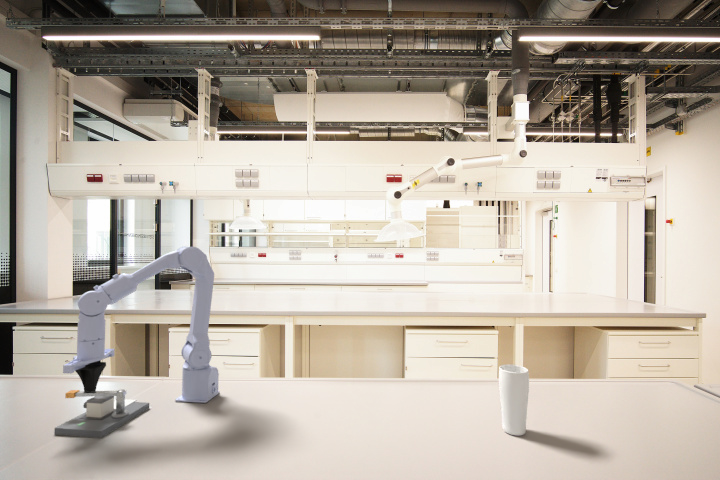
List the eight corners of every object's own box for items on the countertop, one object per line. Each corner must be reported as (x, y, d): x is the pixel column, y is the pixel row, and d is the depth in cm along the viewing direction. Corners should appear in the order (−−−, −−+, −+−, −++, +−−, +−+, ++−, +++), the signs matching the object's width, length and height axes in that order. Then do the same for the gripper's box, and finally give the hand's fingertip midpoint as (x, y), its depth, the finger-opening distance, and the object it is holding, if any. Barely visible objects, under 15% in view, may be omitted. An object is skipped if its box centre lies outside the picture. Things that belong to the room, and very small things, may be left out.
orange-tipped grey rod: (126, 410, 94) (127, 389, 94) (122, 414, 92) (122, 392, 92) (70, 411, 93) (71, 390, 93) (64, 415, 91) (65, 393, 91)
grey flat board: (151, 406, 101) (151, 399, 101) (101, 437, 85) (101, 428, 85) (111, 404, 103) (111, 396, 103) (54, 434, 86) (54, 425, 86)
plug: (113, 410, 95) (114, 394, 95) (101, 417, 91) (101, 401, 91) (92, 409, 96) (92, 393, 96) (79, 416, 92) (79, 399, 92)
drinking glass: (527, 427, 91) (527, 365, 92) (530, 440, 85) (530, 374, 85) (498, 422, 93) (498, 363, 94) (499, 435, 87) (499, 371, 88)
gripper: (97, 332, 101) (95, 382, 101) (51, 345, 87) (49, 404, 86) (122, 332, 101) (121, 382, 101) (80, 346, 86) (78, 405, 86)
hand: (89, 393), depth 93 cm, fingers closed, pressing on orange-tipped grey rod
